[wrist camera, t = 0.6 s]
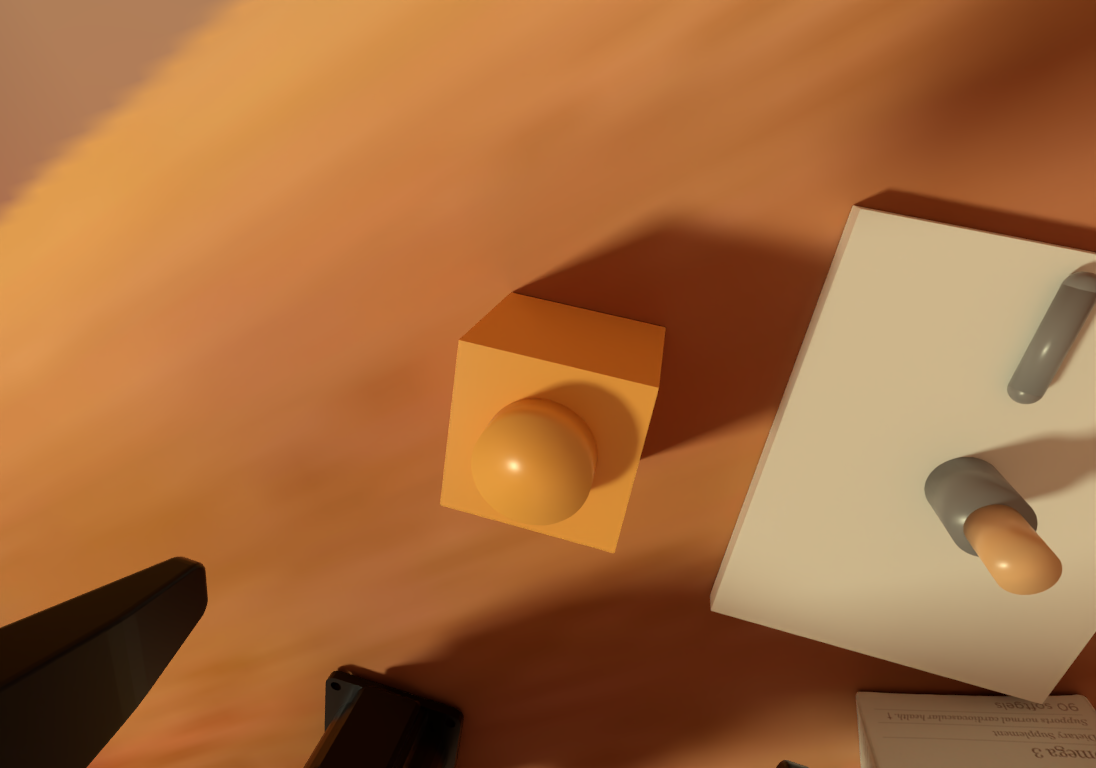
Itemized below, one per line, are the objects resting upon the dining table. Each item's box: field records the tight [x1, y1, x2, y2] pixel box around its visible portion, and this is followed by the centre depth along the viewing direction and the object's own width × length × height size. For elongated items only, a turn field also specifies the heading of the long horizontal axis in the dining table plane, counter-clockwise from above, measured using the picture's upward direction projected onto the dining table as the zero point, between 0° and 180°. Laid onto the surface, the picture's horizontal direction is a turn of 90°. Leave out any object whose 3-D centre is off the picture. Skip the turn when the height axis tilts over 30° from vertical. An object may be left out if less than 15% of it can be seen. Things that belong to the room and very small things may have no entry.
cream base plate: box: [710, 205, 1096, 704], centre depth 17 cm, size 14×11×5 cm
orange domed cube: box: [440, 292, 666, 553], centre depth 17 cm, size 5×5×6 cm
